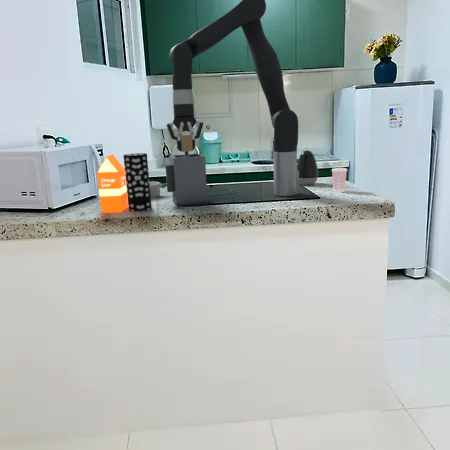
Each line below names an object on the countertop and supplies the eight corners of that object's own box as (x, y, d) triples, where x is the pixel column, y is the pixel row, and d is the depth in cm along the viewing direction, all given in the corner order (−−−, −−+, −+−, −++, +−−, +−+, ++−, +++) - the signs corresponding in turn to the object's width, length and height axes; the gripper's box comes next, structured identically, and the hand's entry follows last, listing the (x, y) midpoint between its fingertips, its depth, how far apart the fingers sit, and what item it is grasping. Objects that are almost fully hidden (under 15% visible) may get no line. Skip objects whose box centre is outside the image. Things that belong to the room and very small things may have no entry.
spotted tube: (141, 212, 158) (135, 155, 153) (124, 210, 163) (118, 155, 158) (156, 207, 165) (151, 153, 160) (139, 205, 170) (134, 153, 165)
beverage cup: (329, 191, 180) (329, 157, 177) (334, 189, 185) (334, 155, 182) (344, 192, 177) (344, 157, 173) (348, 190, 182) (349, 155, 178)
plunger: (199, 197, 176) (195, 133, 170) (203, 201, 167) (199, 134, 161) (176, 199, 174) (171, 134, 168) (179, 203, 165) (174, 135, 159)
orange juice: (101, 212, 161) (94, 157, 156) (108, 207, 169) (102, 154, 164) (122, 212, 160) (116, 156, 155) (128, 206, 169) (123, 153, 164)
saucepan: (182, 197, 184) (181, 183, 183) (133, 200, 182) (131, 186, 180) (180, 192, 195) (179, 179, 194) (134, 195, 193) (133, 182, 191)
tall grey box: (201, 198, 178) (199, 153, 173) (207, 204, 167) (204, 156, 162) (166, 202, 175) (163, 155, 170) (170, 207, 164) (166, 158, 159)
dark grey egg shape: (295, 186, 196) (294, 151, 192) (295, 182, 206) (295, 149, 202) (318, 186, 194) (319, 151, 190) (317, 182, 204) (318, 148, 200)
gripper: (200, 102, 167) (203, 148, 171) (162, 104, 164) (166, 151, 168) (204, 102, 160) (207, 150, 164) (165, 103, 157) (168, 152, 161)
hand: (186, 150), depth 166 cm, fingers closed on plunger, 4 cm apart
